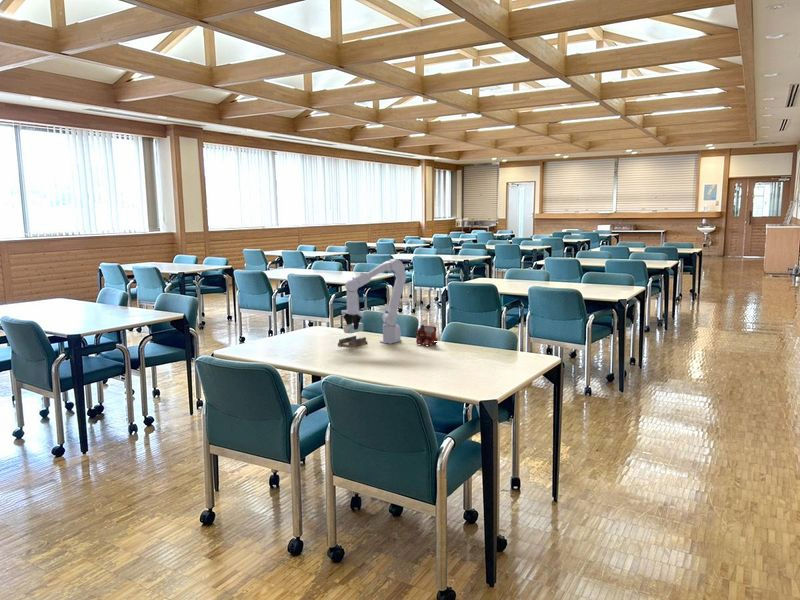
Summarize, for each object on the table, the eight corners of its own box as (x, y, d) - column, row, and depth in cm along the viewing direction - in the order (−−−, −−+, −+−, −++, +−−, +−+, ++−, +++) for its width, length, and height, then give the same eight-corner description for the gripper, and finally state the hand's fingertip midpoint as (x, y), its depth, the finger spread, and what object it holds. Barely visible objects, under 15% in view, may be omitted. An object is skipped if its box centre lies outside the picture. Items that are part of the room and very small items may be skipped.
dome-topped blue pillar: (357, 329, 314) (357, 322, 313) (363, 330, 312) (363, 323, 311) (341, 333, 305) (341, 325, 304) (347, 334, 302) (347, 326, 302)
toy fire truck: (421, 342, 313) (421, 322, 311) (440, 345, 305) (440, 325, 303) (413, 344, 308) (413, 324, 306) (431, 347, 299) (431, 327, 298)
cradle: (353, 341, 317) (353, 335, 317) (367, 343, 311) (367, 337, 311) (337, 345, 308) (337, 339, 308) (351, 347, 302) (351, 341, 301)
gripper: (336, 302, 308) (337, 328, 310) (357, 305, 299) (357, 331, 300) (346, 301, 313) (347, 326, 315) (366, 303, 304) (367, 329, 306)
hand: (352, 328), depth 308 cm, fingers closed on dome-topped blue pillar, 4 cm apart
